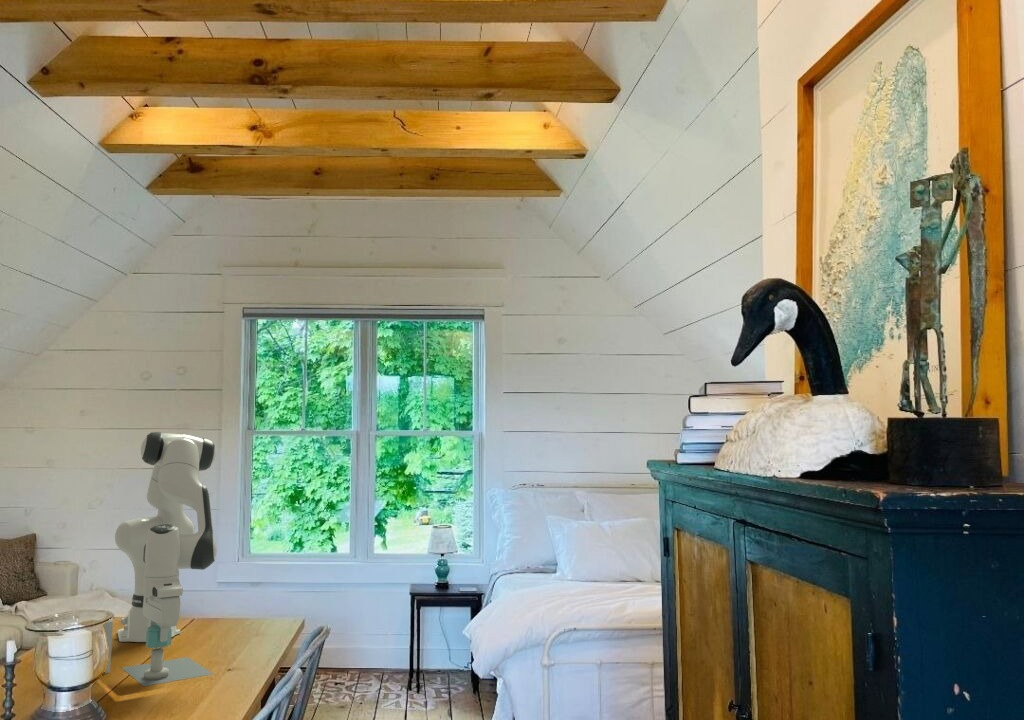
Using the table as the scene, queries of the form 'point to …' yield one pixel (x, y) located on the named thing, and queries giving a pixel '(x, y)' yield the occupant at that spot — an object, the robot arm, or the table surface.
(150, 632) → the cap
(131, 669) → the post board
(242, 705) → the table surface
